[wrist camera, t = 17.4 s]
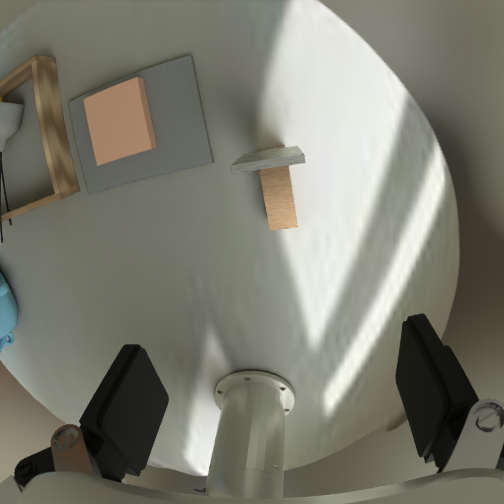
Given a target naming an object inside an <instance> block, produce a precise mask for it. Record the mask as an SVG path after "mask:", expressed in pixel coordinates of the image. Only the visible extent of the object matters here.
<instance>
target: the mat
mask: <svg viewBox="0 0 504 504" xmlns="http://www.w3.org/2000/svg"><path fill="white" fill-rule="evenodd" d="M136 77H139V78H143V79H144V84H145V89H146V95H147V100H148V105H149V110H150V115H151V120H152V124H153V129H154V134H155V138H156V143H157V148H154V149H150V150H147V151H143V152H140V153H137V154H133V155H130V156H127V157H124V158H120V159H117V160H114V161H111V162H108V163H105V164H102V165H99V166H97V162H96V158H95V154H94V149H93V145H92V140H91V136H90V131H89V126H88V121H87V116H86V111H85V105H84V99H85V98H88V97H90V96H92V95H94V94H96V93H99V92H101V91H103V90H106V89H108V88H110V87H113V86H115V85H118V84H120V83H123V82H125V81H128V80H130V79H133V78H136ZM69 108H70V114H71V119H72V125H73V130H74V135H75V139H76V144H77V149H78V153H79V157H80V162H81V166H82V170H83V174H84V178H85V182H86V185H87V189H88V193H89V194H91V193H94V192H97V191H101V190H104V189H108V188H111V187H115V186H118V185H122V184H125V183H129V182H133V181H136V180H140V179H144V178H148V177H152V176H156V175H160V174H164V173H168V172H172V171H177V170H181V169H185V168H190V167H194V166H199V165H204V164H209V163H213V162H214V160H213V156H212V151H211V146H210V141H209V137H208V132H207V127H206V122H205V117H204V112H203V107H202V103H201V98H200V93H199V88H198V83H197V78H196V72H195V67H194V62H193V57H192V55H188V56H185V57H181V58H178V59H175V60H171V61H168V62H165V63H162V64H159V65H156V66H153V67H150V68H147V69H145V70H142V71H139V72H136V73H134V74H131V75H128V76H126V77H123V78H121V79H118V80H116V81H113V82H111V83H109V84H106V85H104V86H102V87H99V88H97V89H95V90H93V91H91V92H88V93H86V94H84V95H82V96H80V97H78V98H76V99H74V100H72V101H70V102H69Z"/></svg>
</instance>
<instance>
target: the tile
mask: <svg viewBox="0 0 504 504" xmlns="http://www.w3.org/2000/svg"><path fill="white" fill-rule="evenodd" d="M84 105H85V111H86V116H87V121H88V126H89V131H90V136H91V140H92V145H93V149H94V154H95V158H96V162H97V166H99V165H102V164H105V163H108V162H111V161H114V160H117V159H120V158H124V157H127V156H130V155H133V154H137V153H140V152H143V151H147V150H150V149H154V148H157V143H156V138H155V134H154V129H153V124H152V120H151V115H150V110H149V105H148V100H147V95H146V89H145V84H144V79H143V78H139V77H136V78H133V79H130V80H128V81H125V82H123V83H120V84H118V85H115V86H113V87H110V88H108V89H106V90H103V91H101V92H99V93H96V94H94V95H92V96H90V97H88V98H85V99H84Z"/></svg>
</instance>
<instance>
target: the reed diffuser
mask: <svg viewBox="0 0 504 504" xmlns="http://www.w3.org/2000/svg"><path fill="white" fill-rule="evenodd" d="M23 108H24V105H23V104H17V103H9V102H4V98H3V97H0V231H1V243H3V237H2V222H1V173H2V181H3V188H4V194H5V200H6V206H7V212H9V209H8V203H7V197H6V191H5V184H4V176H3V168H2V152H5V148H6V143H7V139H8V138H10V137H11V136H12V135H14V134H15V133H16V132H17V131H18V128H19V125H20V121H21V116H22V112H23ZM9 222H10V225H12V224H11V219H10V218H9Z"/></svg>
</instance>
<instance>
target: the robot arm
mask: <svg viewBox="0 0 504 504" xmlns="http://www.w3.org/2000/svg"><path fill="white" fill-rule="evenodd" d="M396 384H397V387H398V390H399V393H400V396H401V399H402V402H403V405H404V408H405V412H406V415H407V418H408V421H409V425H410V428H411V431H412V434H413V438H414V442H415V445H416V448H417V452H418V455H419V457H423V456H424V459H425V463H429V462H432V461H435V464H436V467H438V470H437V472H436V474H433V475H430V476H425V477H421V478H417V479H413V480H409V481H405V482H401V483H397V484H392V485H387V486H382V487H377V488H372V489H366V490H360V491H354V492H348V493H341V494H333V495H325V496H314V497H301V498H284V499H283V498H282V495H283V494H282V493H283V466H284V431H285V416H287V415H288V414H289V413H290V412H291V411H292V409H293V408H294V405H295V392H294V390H293V388H292V387H291V386H290V384H289V383H288V382H286V381H285V380H284V379H282V378H280V377H278V376H276V375H273V374H270V373H266V372H262V371H242V372H236V373H233V374H230V375H228V376H226V377H224V378H223V379H222V380H221V381H220V382H219V383H218V384H217V386H216V389H215V393H214V399H215V402H216V405H217V406H218V407H219V409H220V410H221V414H220V419H219V424H218V429H217V433H216V438H215V443H214V448H213V453H212V458H211V462H210V467H209V473H208V478H207V482H206V492H207V496H208V497H206V496H197V495H187V494H180V493H172V492H166V491H160V490H154V489H149V488H144V487H139V486H134V485H130V484H127V482H126V480H125V478H124V477H125V474H126V473H127V474H130V475H135V476H139V475H140V473H141V470H143V469H145V467H146V464H147V461H148V458H149V456H150V453H151V450H152V447H153V444H154V441H155V439H156V436H157V433H158V430H159V427H160V425H161V422H162V419H163V416H164V413H165V411H166V408H167V405H168V402H169V397H168V394H167V392H166V390H165V388H164V386H163V384H162V382H161V381H160V379H159V377H158V375H157V373H156V371H155V369H154V367H153V365H152V363H151V361H150V359H149V357H148V355H147V353H146V351H145V349H144V348H142V347H141V346H140V345H138V344H126V345H124V346H123V347H122V349H121V350H120V352H119V354H118V355H117V357H116V359H115V360H114V362H113V364H112V365H111V367H110V369H109V370H108V372H107V374H106V375H105V377H104V379H103V380H102V382H101V384H100V385H99V387H98V389H97V390H96V392H95V394H94V396H93V397H92V399H91V401H90V403H89V404H88V406H87V408H86V410H85V411H84V413H83V415H82V417H81V418H80V420H79V422H80V423H81V426H80V427H78V426H76V425H74V424H67V425H63V426H62V427H60V428H58V429H57V430H56V431H55V433H54V434H53V436H52V438H51V447H49V448H47V449H44V450H42V451H40V452H38V453H36V454H33V455H31V456H29V457H27V458H24V459H23V460H21V461H20V462H19V463H18V464H17V466H16V468H15V472H14V474H15V475H14V476H15V477H14V476H12V475H10V476H9V477H8V478H7V479H5V480H4V481H3V482H2V483H0V504H504V404H503V403H502V402H501V401H498V400H496V399H490V398H488V399H482V400H480V401H479V399H478V397H477V395H476V393H475V391H474V389H473V387H472V386H471V383H470V382H469V380H468V378H467V376H466V374H465V372H464V370H463V369H462V367H461V365H460V363H459V362H458V360H457V358H456V356H455V355H454V353H453V351H452V349H451V348H450V347H449V346H447V345H446V346H443V344H442V342H441V340H440V339H439V337H438V335H437V334H436V332H435V330H434V329H433V327H432V325H431V324H430V322H429V320H428V319H427V317H426V316H425V314H423V313H422V314H417V315H412V316H409V317H408V318H407V321H404V322H403V324H402V333H401V341H400V349H399V356H398V363H397V369H396Z"/></svg>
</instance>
